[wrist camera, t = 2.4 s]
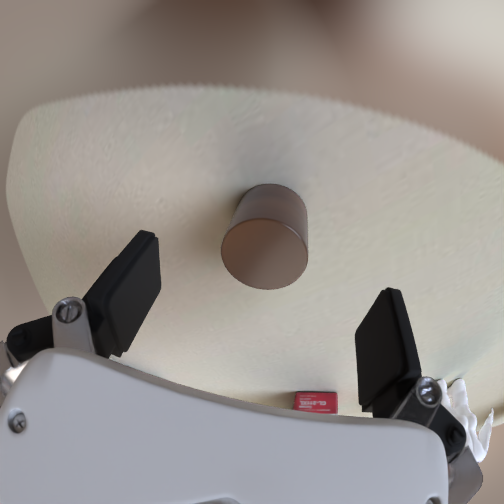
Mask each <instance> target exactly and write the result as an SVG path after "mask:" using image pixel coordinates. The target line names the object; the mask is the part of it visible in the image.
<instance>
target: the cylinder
mask: <svg viewBox="0 0 504 504" xmlns="http://www.w3.org/2000/svg"><path fill="white" fill-rule="evenodd" d="M221 256H222V260H223V263H224V265H225V267H226V268H227V270H228V271H229V273H230V274H231V275H232V276H233V277H234V278H236V279H237V280H238V281H240V282H242V283H243V284H245V285H248V286H250V287H253V288H257V289H266V290H271V289H279V288H283V287H285V286H288V285H290V284H292V283H293V282H295V281H296V280H297V279H298V278H299V277H300V276H301V275H302V274H303V272H304V270H305V268H306V266H307V262H308V221H307V210H306V207H305V204H304V203H303V201H302V199H301V198H300V197H299V196H298V195H297V194H296V193H295V192H294V191H292V190H291V189H289V188H287V187H284V186H281V185H276V184H264V185H260V186H257V187H254V188H253V189H251V190H249V191H248V192H247V193H246V194H245V195H244V196H243V197H242V199H241V201H240V202H239V205H238V207H237V209H236V211H235V213H234V216H233V218H232V220H231V222H230V225H229V227H228V229H227V231H226V234H225V236H224V238H223V241H222V245H221Z"/></svg>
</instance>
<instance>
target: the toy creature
mask: <svg viewBox="0 0 504 504" xmlns="http://www.w3.org/2000/svg"><path fill="white" fill-rule="evenodd" d="M437 383H438V384H439V385H440V387H441V390H442V401H441V404H442V405H443V406H444V407H445V408H446V409H447V410H448V411H449V412H450V413H451V414H452V415H453V416H454V417H455V418H456V419H457V420H458V421H459V422H460V423H461V424H462V425H463V427H464V428H465V431H466V436H467V438H466V443H465V446H468V445H469V447H470V449H471V451H472V453H473V455H474V457H475V459H476V461H477V463H479V462H481V461H482V460H483V459H484V457H485V456H486V454H487V451H488V446H489V439H490V435H491V424H492V423H493V414H494V413H493V408H491V414H489V417H488V418H487V419H486V420H485V423H484V425H483V426H482V428H481V429H480V432H479V434H478V438H477V435H476V432H475V429H476V426H477V419H476V416H475V414H474V413H471V411H470V409H469V407H468V397H467V393H466V386H465V381H464V380H463V379H457V380H456V381H454V383H453V384H452V386H451V387H449V388H448V389H447V384H446V382H445V380H443V379H441V380H438V381H437ZM449 398H452V401H453V407H451V405H450V400H449Z"/></svg>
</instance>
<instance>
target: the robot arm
mask: <svg viewBox="0 0 504 504" xmlns="http://www.w3.org/2000/svg"><path fill="white" fill-rule="evenodd" d="M160 290H161V275H160V260H159V243H158V238H157V237H155V234H154V233H152V232H148V231H144V230H140V231H139V232H138V233H137V234H136V235H135V237H134V238H133V239H132V240H131V241H130V242H129V244H128V245H127V246H126V247H125V248H124V249H123V251H122V252H121V253H120V254H119V255H118V256H117V257H115V258H114V259H113V260H112V262H111V263H110V264H109V265H108V266H107V268H106V269H105V270H104V271H103V273H102V274H101V275H100V276H99V278H98V279H97V280H96V282H95V283H94V284H93V285H92V287H91V288H90V289H89V291H88V292H87V293H86V294H85V296H84V297H83V298H82V299H80V298H78V297H67V298H64V299H62V300H60V301H59V302H58V303H57V304H56V305H55V306H54V308H53V311H52V315H50V316H47V317H43V318H40V319H37V320H34V321H30V322H27V323H24V324H20V325H18V326H16V327H14V328H13V329H12V330H11V331H10V333H9V334H8V337H7V342H5V343H4V342H3V341H1V342H0V504H467V503H468V501H470V499H471V498H472V497H473V496H474V495H475V494H476V493H477V491H478V490H479V489H480V487H481V486H482V482H483V475H482V472H481V470H480V467H479V466H478V463H477V461H476V459H475V457H474V455H473V453H472V451H471V449H470V447H469V445H468V446H465V443H466V438H467V436H466V431H465V428H464V427H463V425H462V424H461V423H460V422H459V421H458V420H457V419H456V418H455V417H454V416H453V415H452V414H451V413H450V412H449V411H448V410H447V409H446V408H445V407H444V406H443V405H442V404H441V401H442V390H441V387H440V385H439V384H438V383H437V382H436V380H434V379H433V378H431V377H422V375H421V372H422V371H421V366H420V362H419V357H418V353H417V348H416V344H415V340H414V336H413V332H412V328H411V324H410V321H409V317H408V314H407V310H406V307H405V303H404V300H403V297H402V293H401V291H400V290H398V289H393V288H389V287H388V288H386V289H385V290H382V291H381V292H380V294H379V295H378V297H377V299H376V300H375V302H374V304H373V305H372V307H371V308H370V310H369V312H368V313H367V315H366V316H365V318H364V319H363V321H362V322H361V324H360V325H359V327H358V328H357V330H356V333H355V346H356V359H357V374H358V396H359V404H360V405H362V412H372V413H373V418H368V417H354V416H341V415H330V414H320V413H312V412H304V411H297V410H290V409H284V408H278V407H272V406H267V405H261V404H256V403H251V402H247V401H242V400H237V399H233V398H229V397H225V396H221V395H217V394H213V393H209V392H205V391H201V390H198V389H194V388H191V387H187V386H184V385H181V384H177V383H174V382H171V381H168V380H165V379H162V378H159V377H156V376H153V375H150V374H148V373H145V372H142V371H139V370H136V369H133V368H131V367H128V366H125V365H123V364H120V363H117V362H115V361H112V360H110V359H108V358H109V357H110V355H111V354H112V355H115V356H117V357H121V355H122V353H123V352H127V351H128V349H129V347H130V345H131V343H132V341H133V340H134V338H135V336H136V334H137V332H138V330H139V328H140V327H141V325H142V323H143V321H144V319H145V317H146V316H147V314H148V312H149V310H150V308H151V307H152V305H153V303H154V301H155V300H156V298H157V296H158V294H159V292H160Z"/></svg>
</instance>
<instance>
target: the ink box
mask: <svg viewBox="0 0 504 504" xmlns="http://www.w3.org/2000/svg"><path fill="white" fill-rule="evenodd" d="M293 410H297V411H304V412H312V413H320V414H330V415H338V395H337V393H311V392H309V393H308V392H306V393H305V392H296V395H295V400H294V405H293Z"/></svg>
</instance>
